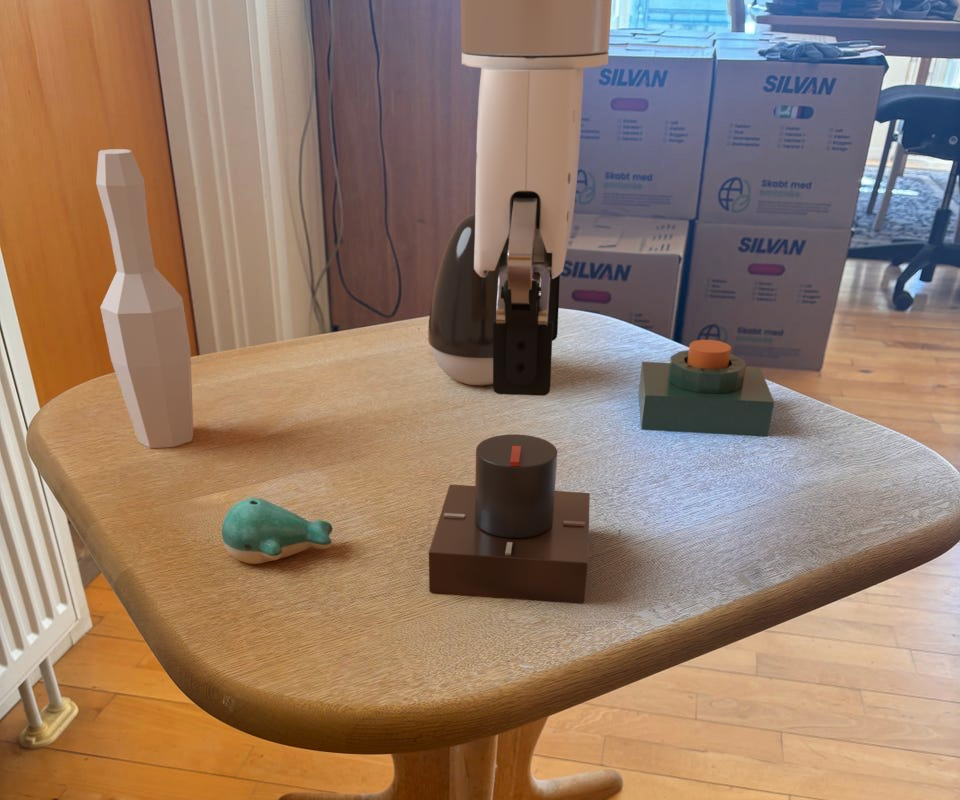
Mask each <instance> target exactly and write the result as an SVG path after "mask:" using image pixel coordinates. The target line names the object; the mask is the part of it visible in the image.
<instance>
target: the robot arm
mask: <svg viewBox="0 0 960 800" xmlns="http://www.w3.org/2000/svg"><path fill="white" fill-rule="evenodd" d="M612 1H613V0H460V28H461V29H460V38H461V39H460V42H461V43H460V44H461V47H460V49H461V65H462V66H465V67H470V68H479V69H480V78H479V89H478V104H477V121H476V122H477V123H476V145H475V146H476V152H475V156H476V158H475V209H474V210H475V211H474V212H475V213H474V214H475V247H474V270H475V271H476V273H477V274H478V275H479V276H480V277H486V276H487V274H488V272H489V271H495V268H496V266H497V263H498V261H499V258H500V263H499V278H498V293H497V308H496V320H494V322H493V384H492V389H493V392H494V393H496V394H497V395H511V396H512V395H513V396H540V397H542V396H543V397H544V396H547V395H548V394H549V393H550V391H551V382H552V381H551V379H552V357H553V356H552V354H553V353H552V351H553V342H554V341H555V340H556V339H557V338H558V333H559V332H558V330H559V329H558V328H559V308H560V307H559V305H560V286H561V285H560V284H561V283H560V281H561V274H562V273H563V272H564V269H565V263H566V259H567V251H568V248H569V243H570V239H571V232H572V225H573V218H574V211H575V204H576V193H577V183H578V174H579V172H578V171H579V163H580V162H579V160H580V146H581V130H582V112H583V96H584V94H583V93H584V76H585V69H592V68H600V67H601V66H602V67H605V66H607V65H608V64H609V54H610V52H609V50H610V37H611V36H610V34H611V18H612V3H613V2H612Z"/></svg>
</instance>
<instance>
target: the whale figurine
mask: <svg viewBox="0 0 960 800" xmlns="http://www.w3.org/2000/svg"><path fill="white" fill-rule="evenodd" d="M332 532H333V526H332V524H331V523H330V522H328V521H326V520H321V519H316V520H313V521H310V520H307V519H305V518H303V517H302V516H300V515H298V514H296V513H294V512H292V511H290V510H288V509H286V508H284V507H281V506H279V505H277V504H274V503H272V502H271V501H269V500H265V499H263V498H259V497H249V498H245V499H243V500H240V501H238V502H237V503H235V504H234V505H232V507H231V508H229V510H228V511H227V513H226V514H225V516H224V518H223V521H222V525H221V536H222V543H223V546H224V548H225V550H226V552H227V553H228V555H230V556H231V557H232V558H233V559H235V560H237V561H239V562H242V563H246V564H253V565H256V564H264V563H268V562H271V561H272V562H273V561H277V560H280V559H283V558H287V557H290V556H293V555H296V554H298V553H301V552H304V551H305V550H307V549H310V548H314V549H318V550H324V549H327V548H329V547H330V546H331V545H332V540H331V537H330V535H331V534H332Z"/></svg>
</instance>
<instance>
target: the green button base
mask: <svg viewBox="0 0 960 800" xmlns="http://www.w3.org/2000/svg"><path fill="white" fill-rule="evenodd" d="M688 353H689V349H688V350H687V349H686V350H681V351H678V352H676V353H674V354H672V355H671V356H670V358H669V362H656V361H655V362H653V361H641V367H640V376H639V385H638V393H637V395H638V406H639V420H640V430H641V431H656V432H657V431H658V432H659V431H660V432H674V433H693V434H712V435H729V436H730V435H731V436H749V437H766V438H767V437H769V432H770V426H771V422H772V416H773V411H774V406H775V401H774V398H773V395H772V393H771V391H770V388H769V385H768V383H767V381H766V378H765V375H764V373H763V370H762V368H761V367H756V366H754V367H753V366H747V365H746V363H745V359H742V358H740V357H738V356H737V355H734V354H732V353H730V358H729V364H728V368H723V369H702V368H698V367H694V366H691V365H689V364H687V360H688Z"/></svg>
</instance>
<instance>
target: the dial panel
mask: <svg viewBox="0 0 960 800" xmlns="http://www.w3.org/2000/svg"><path fill="white" fill-rule="evenodd" d="M590 499H591V493H590V492H583V491H582V492H579V491H564V490H563V491H561V490H555V497H554V512H553V523H552V525H551V527H550V528H549V529H548V530H547V531H545V532H544V533H541V534H539V535H536V536H532V537H526V538H506V537H500V536H496V535H492V534H490V533H487V532H485V531H484V530H482V529H481V528H480V527H479V526H478V525H477V523H476V521H475V485H466V484H449V486H448V488H447V491H446V495H445V499H444V501H443V504H442V507H441V511H440V514H439V518H438V521H437V525H436V528H435V531H434V534H433V537H432V541H431V543H430V547H429V551H428V590H429V593H436V594H447V595H448V594H449V595H461V596H462V595H464V596H478V597H491V598H506V599H518V600H519V599H520V600H532V601H533V600H534V601H547V602H560V603H561V602H563V603H578V604H584V603H585V598H586V597H585V596H586V588H587V587H586V586H587V575H588V566H589V533H590V506H591V505H590V504H591V503H590V501H591V500H590Z"/></svg>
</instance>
